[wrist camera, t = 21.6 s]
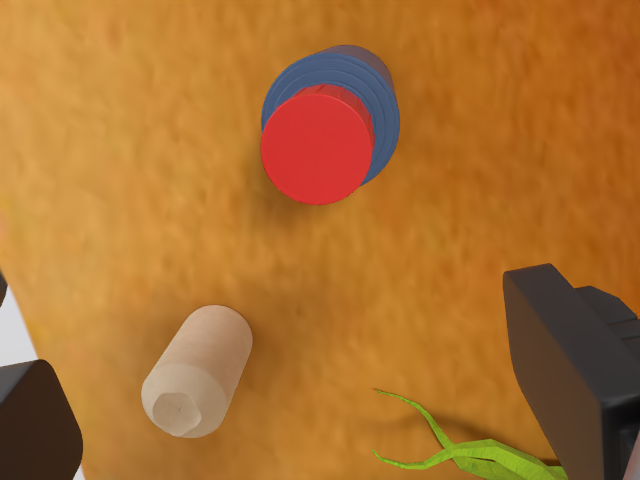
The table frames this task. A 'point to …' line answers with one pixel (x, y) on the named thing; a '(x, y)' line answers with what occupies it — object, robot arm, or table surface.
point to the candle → (198, 373)
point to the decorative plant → (505, 476)
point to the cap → (318, 145)
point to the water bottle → (357, 77)
